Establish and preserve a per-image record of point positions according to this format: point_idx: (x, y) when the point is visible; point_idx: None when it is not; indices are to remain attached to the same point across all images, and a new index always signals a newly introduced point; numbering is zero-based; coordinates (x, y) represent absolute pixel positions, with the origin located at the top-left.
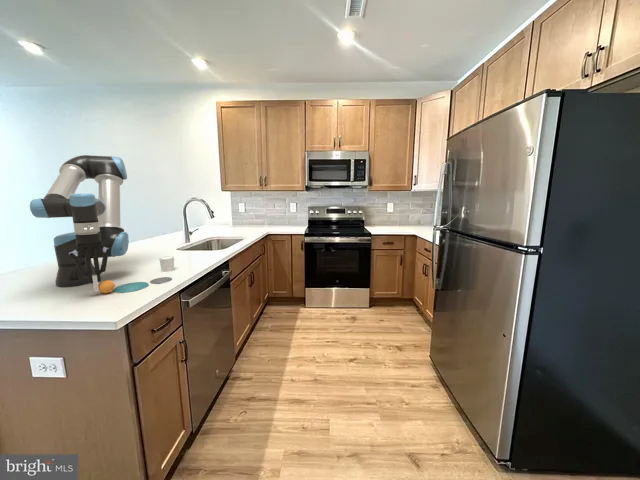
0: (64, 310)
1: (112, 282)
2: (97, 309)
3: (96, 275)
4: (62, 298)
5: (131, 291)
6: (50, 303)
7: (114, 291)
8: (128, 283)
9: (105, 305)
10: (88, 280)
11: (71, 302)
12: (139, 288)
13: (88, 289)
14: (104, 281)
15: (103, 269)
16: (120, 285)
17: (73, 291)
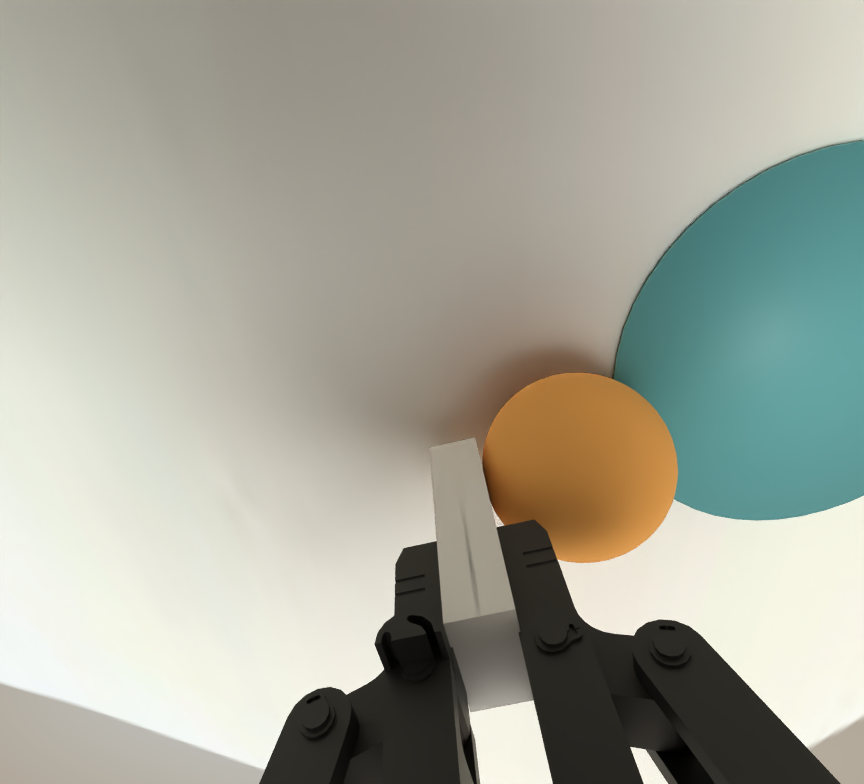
0: (261, 670)
1: (668, 510)
2: (477, 745)
3: (530, 700)
4: (105, 341)
5: (761, 517)
6: (51, 449)
7: None
8: (847, 158)
9: (525, 708)
10: (399, 599)
11: (255, 525)
12: (855, 474)
13: (324, 88)
14: (588, 548)
15: (689, 765)
16: (732, 202)
17: (123, 58)
